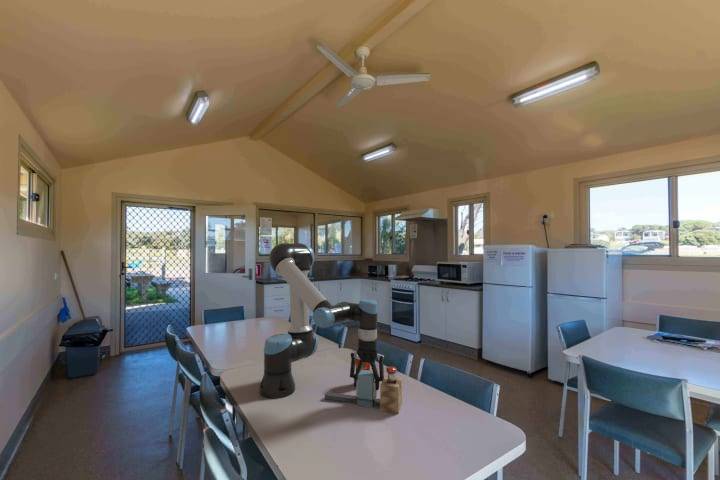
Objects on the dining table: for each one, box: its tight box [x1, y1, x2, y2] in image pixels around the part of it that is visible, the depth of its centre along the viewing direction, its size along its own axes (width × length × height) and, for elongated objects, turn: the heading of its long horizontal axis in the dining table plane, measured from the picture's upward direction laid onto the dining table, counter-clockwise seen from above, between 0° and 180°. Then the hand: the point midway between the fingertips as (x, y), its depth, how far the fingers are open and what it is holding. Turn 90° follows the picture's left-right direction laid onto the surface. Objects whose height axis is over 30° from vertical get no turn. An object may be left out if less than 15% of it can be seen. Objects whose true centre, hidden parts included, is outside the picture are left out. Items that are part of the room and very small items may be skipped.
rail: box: [324, 391, 380, 408], centre depth 137 cm, size 24×3×2 cm, turn 74°
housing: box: [379, 376, 403, 414], centre depth 133 cm, size 7×9×10 cm
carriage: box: [356, 370, 375, 408], centre depth 136 cm, size 6×6×12 cm
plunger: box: [385, 366, 398, 384], centre depth 133 cm, size 4×4×6 cm
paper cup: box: [355, 355, 371, 372], centre depth 155 cm, size 8×8×14 cm
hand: (366, 396), depth 136 cm, fingers open, 6 cm apart
